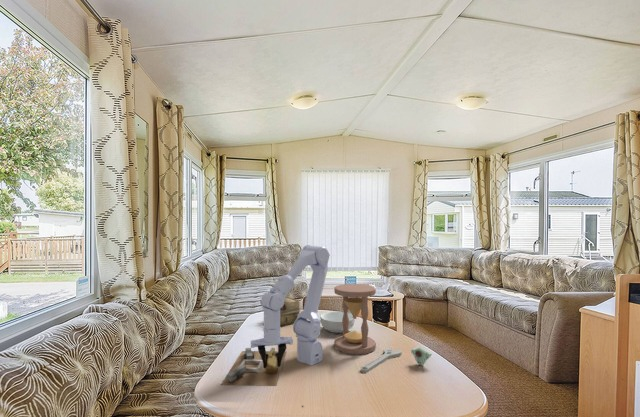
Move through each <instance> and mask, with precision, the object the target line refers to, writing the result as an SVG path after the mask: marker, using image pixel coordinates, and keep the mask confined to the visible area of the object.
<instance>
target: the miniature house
mask: <svg viewBox="0 0 640 417" xmlns="http://www.w3.org/2000/svg"><path fill="white" fill-rule="evenodd" d="M299 313H301V309H300V300H298V299H296V298H295V299H294V298H291V297H289V296H288V297H287V296H286V297H285V300H284V305H283V307H282V308H281V309H280V328H283V327H288V326H291V325H292V326H293V325H294V322H295V321H296V319H297V316H298V314H299Z"/></svg>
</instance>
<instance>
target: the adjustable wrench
mask: <svg viewBox="0 0 640 417" xmlns="http://www.w3.org/2000/svg"><path fill="white" fill-rule="evenodd" d="M382 353H383V354H382V355H380V356H378V357H376V358H375V359H373V360H372V361H370V362H367V363H366V364H364V365H363V366H361V367H360V372H361V373H363V374H364V373H369V372H370V371H372V370H374V368H377V367H378V366H379V364H380V365H381V364H383V363H384V362H385V361H388V360H389V359H392V358H398V357H400V356H402V354H403V353H402V349H400V348H398V349H397V350H395V351H393V350H392V347H387V348H385V349H383V351H382Z"/></svg>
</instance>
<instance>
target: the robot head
mask: <svg viewBox="0 0 640 417" xmlns="http://www.w3.org/2000/svg"><path fill="white" fill-rule="evenodd" d="M410 351H411V354H412V355H413V357H414V360H415V361H416V363H417V364H418V365H419V366H424V365H425V364H426V362H427V361H428V360H429V359H430V358H431V356H432V355H433V353H432V352H429V351H428V350H426V349H425V348H423V347H422V346H417V347H415V348H411V350H410Z"/></svg>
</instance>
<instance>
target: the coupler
mask: <svg viewBox="0 0 640 417" xmlns="http://www.w3.org/2000/svg"><path fill="white" fill-rule="evenodd" d="M269 351H270V352H267V353H266V368H265V372H266V373H268V374H274V373H277V372H278V352H276V347H271V348H270V350H269Z"/></svg>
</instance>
